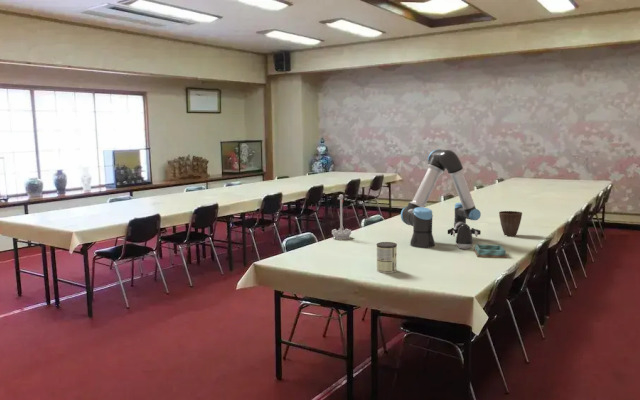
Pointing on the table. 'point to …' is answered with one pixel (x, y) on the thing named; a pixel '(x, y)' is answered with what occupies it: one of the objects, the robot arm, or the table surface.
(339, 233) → the flag stand
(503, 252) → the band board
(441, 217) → the table surface
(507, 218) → the plant pot
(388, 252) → the coffee can
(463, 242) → the dark grey glossy oval
